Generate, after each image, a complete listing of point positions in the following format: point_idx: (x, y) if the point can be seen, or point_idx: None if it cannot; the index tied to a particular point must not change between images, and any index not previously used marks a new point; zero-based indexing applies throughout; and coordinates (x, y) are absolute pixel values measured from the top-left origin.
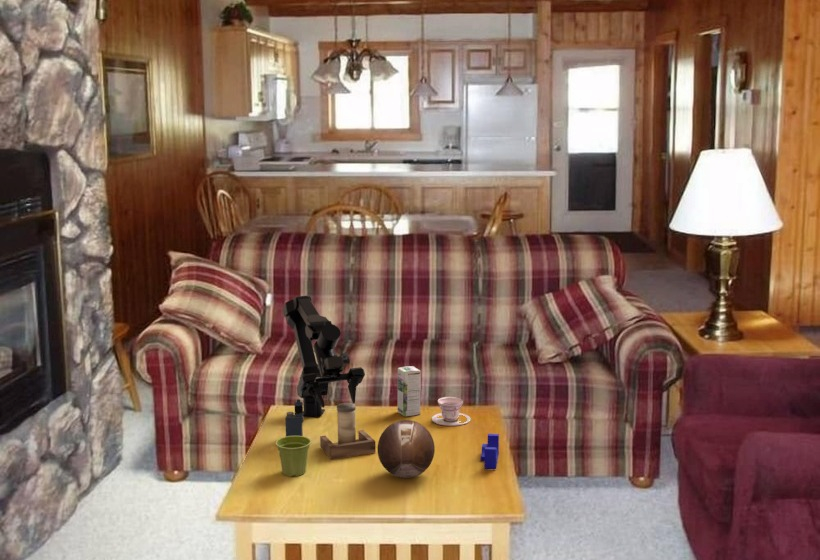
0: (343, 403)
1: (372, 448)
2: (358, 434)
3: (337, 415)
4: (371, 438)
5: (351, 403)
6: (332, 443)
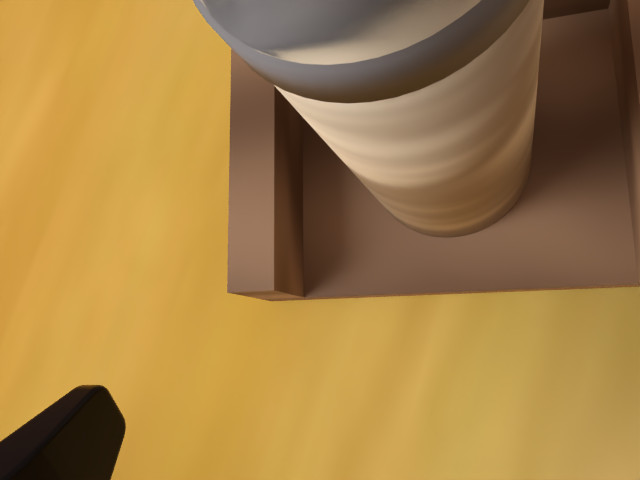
0: (356, 47)
1: None
2: (287, 292)
3: (542, 6)
4: None
5: (209, 7)
6: (634, 3)
